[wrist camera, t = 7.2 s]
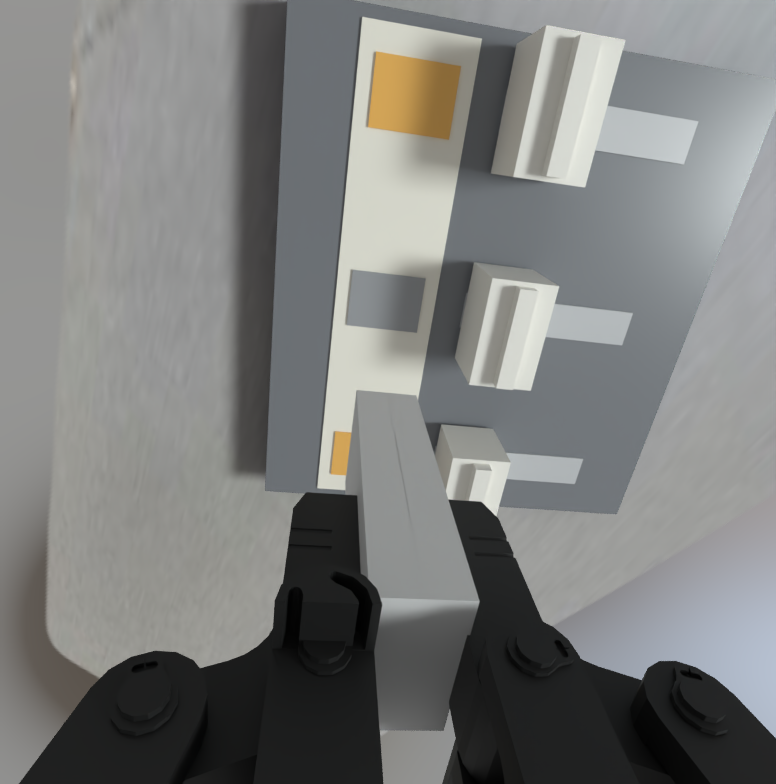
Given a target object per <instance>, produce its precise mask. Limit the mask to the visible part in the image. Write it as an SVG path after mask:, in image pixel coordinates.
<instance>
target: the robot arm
mask: <svg viewBox="0 0 776 784" xmlns="http://www.w3.org/2000/svg"><path fill="white" fill-rule="evenodd" d="M449 709H450V711H451V716H452V721H453V727H454V732H455V737H456V740H455V743H454V746H453V750H452V753H451V756H450V760H449V763H448V766H447V770H446V773H445V776H444V780H443V783H442V784H776V738H775V737H774V736H773V735H772V734H771V733H770V732H769V731H768V730H767V729H766V728H765V727H764V726H763V725H762V724H761V723H760V721H759V720H758V719H757V718H756V717H755V716H754V715H753V714H752V713H751V712H750V711H749V710H748V709H747V708H746V707H745V706H744V705H743V704H742V702H741V701H740V700H739V699H738V698H737V697H736V696H735V695H734V694H733V693H731V692H730V691H729V690H728V689H727V688H726V687H725V686H723V685H722V684H721V683H720V682H719V681H718V680H716V679H715V678H713V677H712V676H710V675H708V674H706V673H705V672H703V671H701V670H699V669H698V668H696V667H693V666H690V665H687V664H683V663H680V662H677V661H659V662H657V663H656V664H654V665H652V666H651V667H649V668H648V669H647V671H646V673H645V675H644V677H643V679H642V680H639V679H636V678H633V677H630V676H626V675H623V674H620V673H617V672H614V671H611V670H608V669H604V668H601V667H598V666H596V665H593V664H591V663H588V662H586V661H584V660H582V659H580V656H579V655H578V653H577V652H576V650H575V649H574V648H573V646H572V644H571V643H570V642H569V640H568V639H567V638H565V637H564V636H563V635H562V634H561V633H560V632H558V631H557V630H556V629H555V628H554V627H552V626H550V625H548V624H546V623H544V622H543V621H542V619H541V617H540V614H539V612H538V610H537V607H536V605H535V603H534V600H533V598H532V596H531V593H530V591H529V589H528V586H527V584H526V582H525V579H524V577H523V575H522V572H521V570H520V568H519V565H518V563H517V561H516V559H515V558H514V557H513V552H512V549H511V547H510V545H509V542H507V541H506V535H505V533H504V531H503V528H502V526H501V524H500V521H499V519H498V518H497V517H496V516H495V515H494V514H493V513H492V512H491V511H490V510H489V509H488V508H487V507H486V506H485V505H484V504H483V503H482V502H479V501H463V500H448V497H447V494H446V490H445V487H444V484H443V481H442V477H441V474H440V471H439V468H438V464H437V461H436V458H435V455H434V451H433V448H432V445H431V442H430V439H429V435H428V432H427V429H426V426H425V422H424V419H423V416H422V413H421V409H420V406H419V403H418V400H417V396H416V395H407V394H396V393H385V392H374V391H363V390H357V391H356V399H355V407H354V415H353V423H352V432H351V440H350V448H349V456H348V464H347V473H346V481H345V495H343V494H327V493H312V492H306V493H305V495H304V496H303V497H302V498H301V499H300V501H299V502H298V503H297V504H296V506H295V507H294V508H293V515H292V522H291V530H290V536H289V544H288V551H287V558H286V566H285V573H284V580H283V584H282V585H281V587H280V589H279V592H278V594H277V597H276V599H275V607H274V623H273V629H272V631H271V633H270V634H269V636H268V637H267V638H266V639H265V640H264V641H263V642H262V643H261V644H260V645H259V646H257V647H256V648H254V649H253V650H251V651H249V652H248V653H246V654H245V655H242V656H240V657H237V658H234V659H232V660H229V661H226V662H222V663H218V664H215V665H211V666H207V667H204V668H199V667H198V666H197V664H196V663H195V662H194V660H192V659H190V658H187V657H185V656H183V655H181V654H179V653H177V652H164V651H153V652H149V653H145V654H141V655H137V656H133V657H130V658H129V659H127V660H125V661H123V662H122V663H120V664H118V665H116V666H115V667H113V668H111V669H109V670H108V671H107V672H106V673H105V674H104V675H103V676H102V677H101V678H100V679H99V680H98V681H97V682H96V683H95V684H94V685H93V686H92V687H91V688H90V690H89V691H88V692H87V694H86V695H85V696H84V698H83V699H82V700H81V702H80V703H79V704H78V706H77V707H76V708H75V710H74V711H73V712H72V714H71V715H70V716H69V718H68V719H67V720H66V722H65V723H64V724H63V726H62V727H61V729H60V730H59V731H58V732H57V734H56V735H55V736H54V738H53V739H52V741H51V742H50V743H49V744H48V746H47V747H46V748H45V750H44V751H43V752H42V754H41V755H40V756H39V758H38V759H37V761H36V762H35V763H34V765H33V766H32V767H31V768H30V770H29V771H28V773H27V774H26V775H25V777H24V778H23V779H22V780H21V782H20V783H19V784H383V772H382V759H381V744H380V730H422V731H425V730H426V731H427V730H429V731H431V730H433V731H435V730H436V731H437V730H438V731H443V730H444V727H445V723H446V720H447V716H448V713H449Z"/></svg>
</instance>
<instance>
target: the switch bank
mask: <svg viewBox="0 0 776 784" xmlns="http://www.w3.org/2000/svg"><path fill="white" fill-rule="evenodd" d="M530 35H532V34H531V33H525V32H520V31H515V30H509V29H504V28H498V27H493V26H488V25H482V24H477V23H472V22H466V21H461V20H456V19H450V18H445V17H439V16H434V15H429V14H423V13H418V12H413V11H407V10H402V9H397V8H391V7H386V6H380V5H375V4H370V3H364V2H359V1H354V0H287V19H286V41H285V63H284V85H283V107H282V129H281V151H280V173H279V195H278V217H277V239H276V261H275V283H274V305H273V327H272V349H271V371H270V393H269V415H268V436H267V458H266V480H265V491H275V492H290V493H306V492H312V493H327V494H343V495H345V481H346V473H347V464H348V456H349V448H350V440H351V432H352V423H353V415H354V407H355V399H356V391H357V390H363V391H374V392H385V393H396V394H407V395H416V396H417V400H418V403H419V406H420V409H421V413H422V416H423V419H424V422H425V426H426V429H427V432H428V435H429V439H430V442H431V445H432V448H433V451H434V455H435V453H436V448H437V443H438V438H439V433H440V428H441V424H443V425H455V426H466V427H478V428H489V429H493V430H494V432H495V433H496V435H497V437H498V439H499V441H500V443H501V445H502V447H503V448H504V450H505V452H506V454H507V456H508V458H509V460H510V462H511V464H510V468H509V472H508V475H507V479H506V483H505V486H504V490H503V493H502V497H501V501H500V504H499V506H500V507H514V508H529V509H544V510H559V511H574V512H589V513H604V514H617V512H618V510H619V507H620V505H621V502H622V499H623V497H624V494H625V492H626V489H627V487H628V484H629V482H630V479H631V477H632V474H633V471H634V469H635V466H636V464H637V461H638V459H639V456H640V454H641V451H642V449H643V446H644V443H645V441H646V438H647V436H648V433H649V431H650V428H651V426H652V423H653V421H654V418H655V415H656V413H657V410H658V408H659V405H660V403H661V400H662V398H663V395H664V393H665V390H666V387H667V385H668V382H669V380H670V377H671V375H672V372H673V370H674V367H675V365H676V362H677V359H678V357H679V354H680V352H681V349H682V347H683V344H684V342H685V339H686V337H687V334H688V331H689V329H690V326H691V324H692V321H693V319H694V316H695V314H696V311H697V309H698V306H699V303H700V301H701V298H702V296H703V293H704V291H705V288H706V286H707V283H708V281H709V278H710V275H711V273H712V270H713V268H714V265H715V263H716V260H717V258H718V255H719V253H720V250H721V247H722V245H723V242H724V240H725V237H726V235H727V232H728V230H729V227H730V225H731V222H732V219H733V217H734V214H735V212H736V209H737V207H738V204H739V202H740V199H741V197H742V194H743V191H744V189H745V186H746V184H747V181H748V179H749V176H750V174H751V171H752V169H753V166H754V163H755V161H756V158H757V156H758V153H759V151H760V148H761V146H762V143H763V141H764V138H765V135H766V133H767V130H768V128H769V125H770V123H771V120H772V118H773V115H774V113H775V110H776V79H772V78H767V77H761V76H756V75H751V74H745V73H740V72H735V71H729V70H724V69H718V68H713V67H708V66H702V65H697V64H692V63H686V62H681V61H676V60H670V59H665V58H659V57H654V56H649V55H643V54H638V53H633V52H627V51H622V54H621V58H620V62H619V65H618V69H617V73H616V76H615V80H614V84H613V87H612V91H611V95H610V98H609V102H608V106H607V109H606V113H605V117H604V120H603V124H602V128H601V131H600V135H599V139H598V142H597V146H596V149H595V153H594V157H593V160H592V164H591V168H590V171H589V175H588V179H587V182H586V186H585V188H584V187H578V186H571V185H564V184H558V183H551V182H544V181H538V180H531V179H524V178H517V177H511V176H504V175H497V174H491V169H492V164H493V159H494V154H495V149H496V144H497V140H498V135H499V130H500V125H501V120H502V115H503V110H504V105H505V100H506V95H507V90H508V85H509V80H510V75H511V70H512V65H513V60H514V55H515V50H516V45H517V43H519V42H520V41H522V40H524V39H525V38H527V37H528V36H530ZM474 262H477V263H485V264H493V265H501V266H508V267H516V268H524V269H532V270H534V271H536V272H537V273H539V274H541V275H542V276H544V277H545V278H547V279H549V280H550V281H552V282H553V283H555V284H557V285H558V286H559V290H558V293H557V297H556V301H555V304H554V308H553V312H552V315H551V319H550V322H549V326H548V330H547V333H546V337H545V341H544V344H543V348H542V352H541V355H540V359H539V363H538V366H537V370H536V373H535V377H534V381H533V384H532V388H531V391H527V390H517V389H513V390H506V389H496V387H486V386H476V385H469V384H468V382H467V380H466V378H465V376H464V374H463V372H462V370H461V369H460V367H459V365H458V363H457V361H456V359H455V354H456V349H457V344H458V339H459V334H460V329H461V324H462V319H463V314H464V309H465V305H466V300H467V295H468V290H469V285H470V280H471V275H472V270H473V265H474Z"/></svg>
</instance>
